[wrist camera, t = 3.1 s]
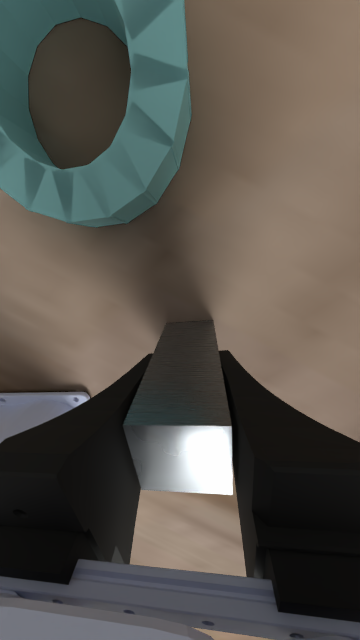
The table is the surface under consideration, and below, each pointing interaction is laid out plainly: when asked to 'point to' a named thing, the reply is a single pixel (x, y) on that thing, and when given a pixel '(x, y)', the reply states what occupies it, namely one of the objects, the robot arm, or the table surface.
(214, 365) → the dark metal rectangular bar
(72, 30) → the table surface
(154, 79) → the teal creased ring
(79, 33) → the table surface
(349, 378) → the table surface
